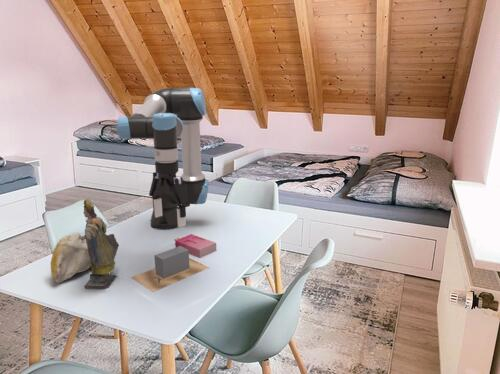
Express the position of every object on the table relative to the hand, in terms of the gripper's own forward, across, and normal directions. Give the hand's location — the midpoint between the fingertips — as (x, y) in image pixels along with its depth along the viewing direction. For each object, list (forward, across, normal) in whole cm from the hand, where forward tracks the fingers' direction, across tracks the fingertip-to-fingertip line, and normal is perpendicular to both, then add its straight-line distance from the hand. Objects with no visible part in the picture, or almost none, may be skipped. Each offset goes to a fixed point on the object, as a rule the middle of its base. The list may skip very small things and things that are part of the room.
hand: (169, 221), depth 136 cm
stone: (+21, -28, -21) cm, 41 cm away
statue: (+21, -16, -19) cm, 32 cm away
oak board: (+21, 0, 0) cm, 21 cm away
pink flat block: (+21, -13, +18) cm, 31 cm away
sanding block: (+20, 0, 0) cm, 20 cm away
